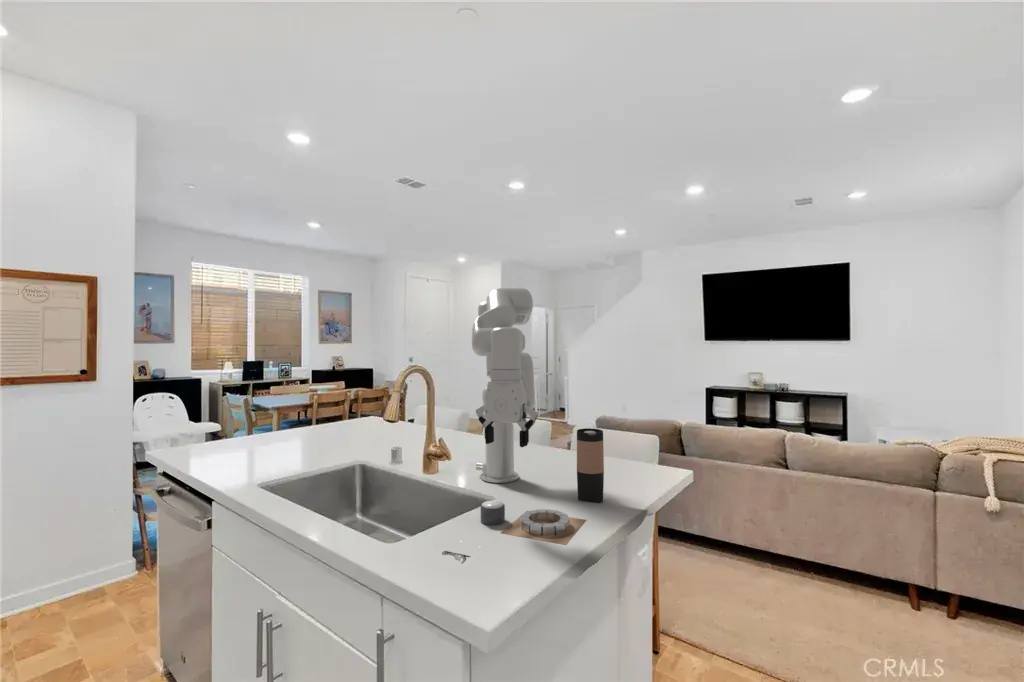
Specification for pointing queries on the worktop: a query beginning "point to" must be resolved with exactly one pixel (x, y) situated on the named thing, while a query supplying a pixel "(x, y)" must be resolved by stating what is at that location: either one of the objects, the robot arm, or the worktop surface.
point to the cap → (492, 513)
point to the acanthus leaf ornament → (456, 555)
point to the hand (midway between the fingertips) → (506, 444)
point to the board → (559, 539)
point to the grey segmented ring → (544, 529)
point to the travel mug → (590, 465)
